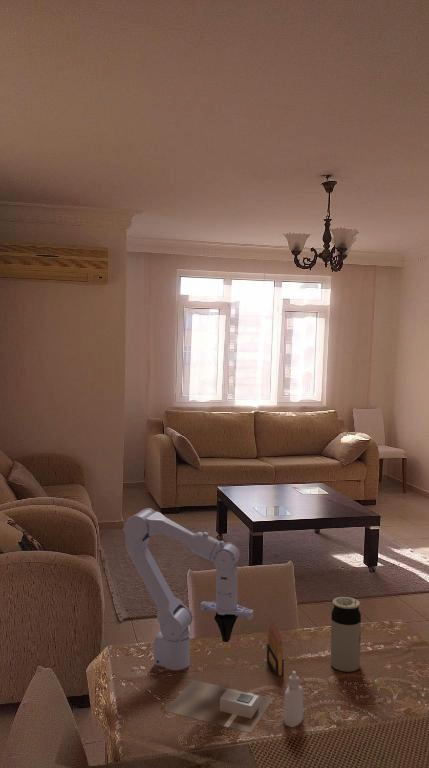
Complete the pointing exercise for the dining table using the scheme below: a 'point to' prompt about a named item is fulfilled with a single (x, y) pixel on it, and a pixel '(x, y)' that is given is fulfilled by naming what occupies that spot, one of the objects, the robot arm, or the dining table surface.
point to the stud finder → (239, 703)
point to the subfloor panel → (214, 706)
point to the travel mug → (345, 634)
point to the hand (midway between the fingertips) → (226, 640)
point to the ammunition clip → (275, 650)
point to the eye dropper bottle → (293, 702)
